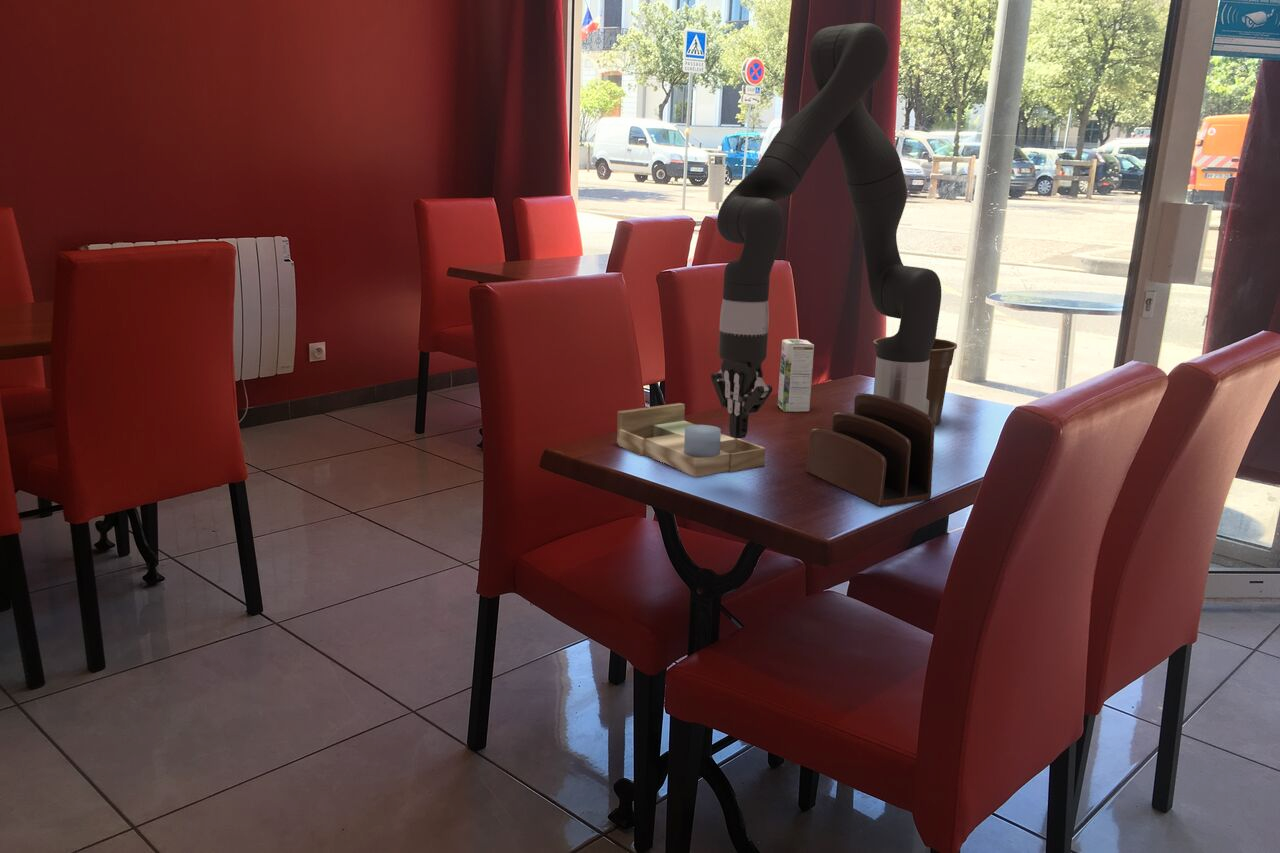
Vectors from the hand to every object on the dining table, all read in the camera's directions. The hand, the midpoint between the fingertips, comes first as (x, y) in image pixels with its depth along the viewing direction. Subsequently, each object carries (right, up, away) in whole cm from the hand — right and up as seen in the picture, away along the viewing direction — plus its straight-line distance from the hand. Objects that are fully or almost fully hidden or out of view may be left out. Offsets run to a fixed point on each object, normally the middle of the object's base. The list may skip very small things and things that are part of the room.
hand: (737, 436), depth 165 cm
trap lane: (-7, -3, +19) cm, 20 cm away
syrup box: (+17, +5, +54) cm, 57 cm away
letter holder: (+21, -8, +3) cm, 23 cm away
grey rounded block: (-5, -3, +9) cm, 11 cm away
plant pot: (+39, +3, +46) cm, 61 cm away
